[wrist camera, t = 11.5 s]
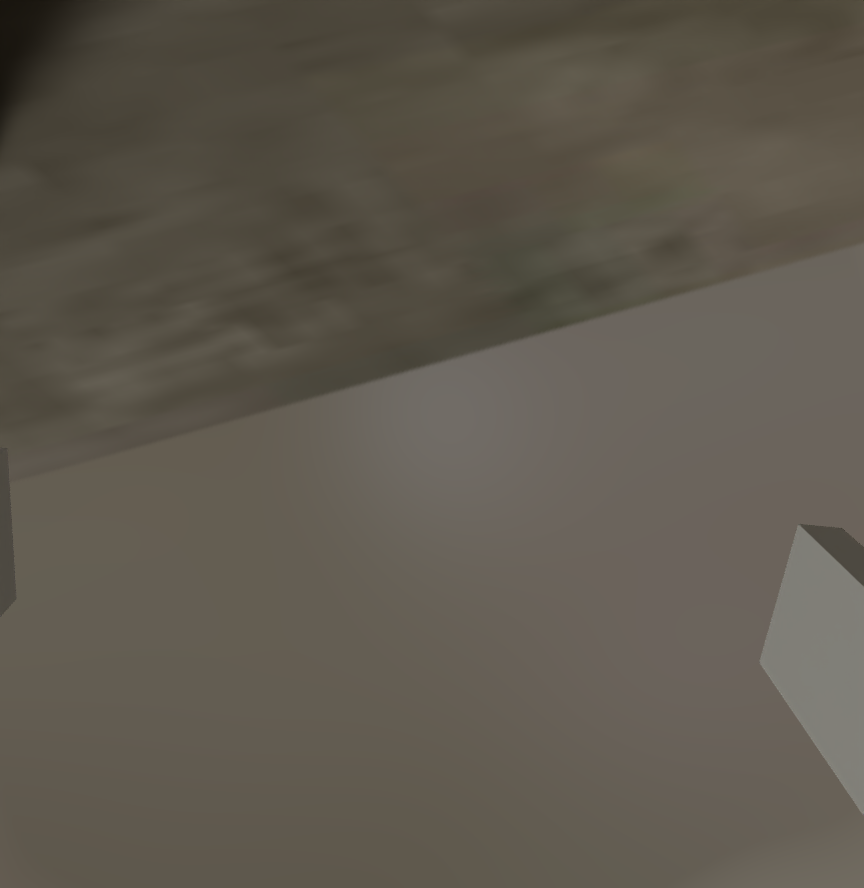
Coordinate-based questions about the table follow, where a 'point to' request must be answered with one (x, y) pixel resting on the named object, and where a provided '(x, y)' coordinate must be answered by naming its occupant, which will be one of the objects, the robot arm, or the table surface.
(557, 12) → the table surface
